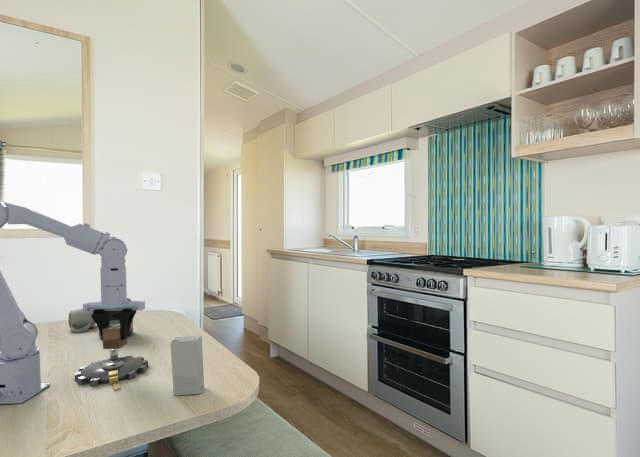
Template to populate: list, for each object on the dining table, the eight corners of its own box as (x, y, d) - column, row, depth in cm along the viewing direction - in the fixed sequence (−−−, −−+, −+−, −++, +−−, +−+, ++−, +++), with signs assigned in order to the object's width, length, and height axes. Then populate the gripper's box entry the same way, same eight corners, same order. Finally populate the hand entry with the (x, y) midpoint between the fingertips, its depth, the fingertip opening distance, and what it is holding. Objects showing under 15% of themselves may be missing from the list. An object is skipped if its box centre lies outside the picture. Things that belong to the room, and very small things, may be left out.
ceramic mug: (71, 327, 145) (70, 307, 145) (96, 324, 149) (95, 305, 148) (66, 334, 136) (65, 313, 136) (92, 331, 139) (92, 311, 139)
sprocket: (161, 367, 103) (161, 350, 103) (99, 391, 89) (98, 371, 89) (124, 357, 111) (123, 341, 111) (61, 377, 97) (61, 359, 97)
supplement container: (134, 330, 140) (133, 296, 139) (132, 338, 130) (131, 302, 130) (101, 333, 136) (100, 299, 135) (96, 342, 126) (94, 305, 126)
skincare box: (204, 386, 90) (203, 334, 90) (200, 395, 86) (199, 340, 86) (177, 388, 90) (175, 335, 90) (171, 397, 85) (170, 341, 85)
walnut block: (119, 348, 97) (118, 328, 97) (103, 349, 97) (102, 328, 97) (127, 343, 101) (126, 323, 101) (111, 344, 101) (110, 324, 101)
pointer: (120, 389, 90) (120, 388, 90) (114, 390, 89) (114, 389, 89) (118, 384, 93) (118, 382, 93) (113, 385, 92) (113, 384, 92)
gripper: (149, 282, 103) (150, 333, 103) (93, 283, 103) (95, 335, 103) (137, 286, 96) (138, 342, 96) (77, 287, 96) (78, 343, 96)
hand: (115, 339), depth 99 cm, fingers closed on walnut block, 4 cm apart
